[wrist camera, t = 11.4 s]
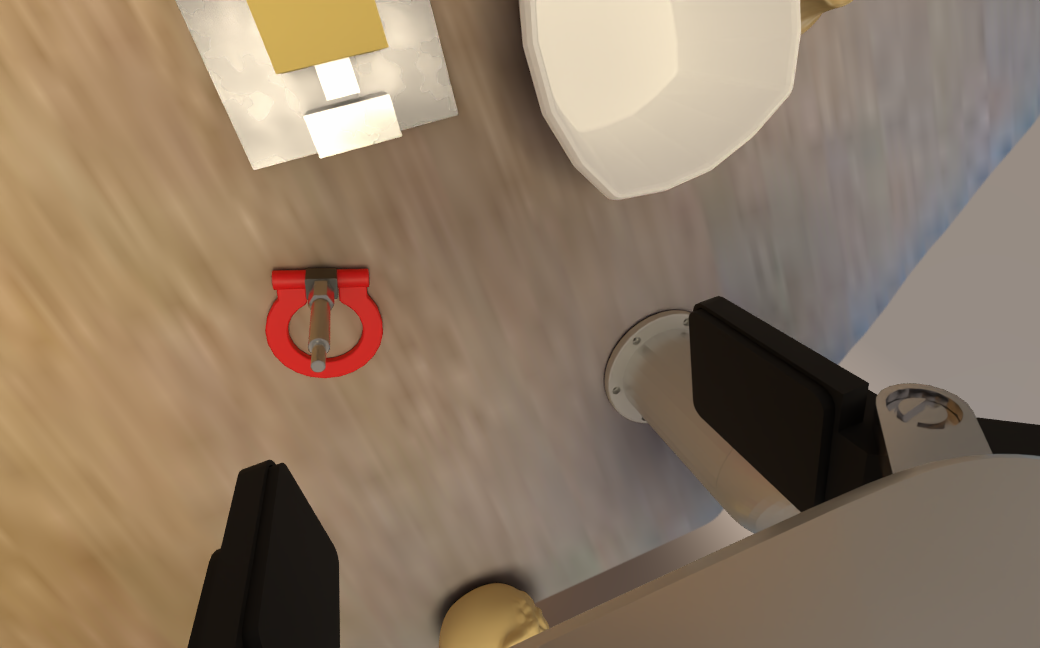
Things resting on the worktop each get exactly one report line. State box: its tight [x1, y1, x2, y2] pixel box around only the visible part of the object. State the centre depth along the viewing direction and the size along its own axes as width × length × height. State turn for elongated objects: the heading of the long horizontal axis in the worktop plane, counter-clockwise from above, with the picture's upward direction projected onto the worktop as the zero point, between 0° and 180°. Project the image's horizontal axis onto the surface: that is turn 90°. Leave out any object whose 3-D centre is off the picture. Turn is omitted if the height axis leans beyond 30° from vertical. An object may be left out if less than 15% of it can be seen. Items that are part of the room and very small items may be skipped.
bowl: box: [519, 0, 801, 200], centre depth 34 cm, size 18×18×9 cm
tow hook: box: [265, 268, 383, 378], centre depth 35 cm, size 8×13×9 cm
